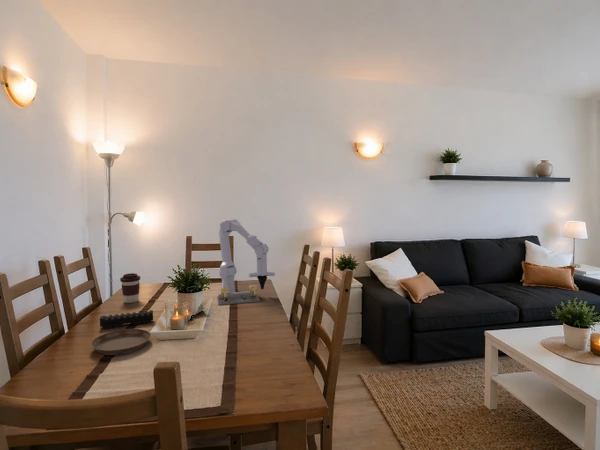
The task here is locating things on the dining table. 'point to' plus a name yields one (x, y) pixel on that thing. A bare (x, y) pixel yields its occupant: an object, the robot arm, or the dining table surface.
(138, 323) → the rail mount
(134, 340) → the plant saucer
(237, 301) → the bolt plate
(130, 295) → the coffee cup
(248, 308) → the dining table surface
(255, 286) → the sliding leg
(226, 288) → the beam with fixed leg
